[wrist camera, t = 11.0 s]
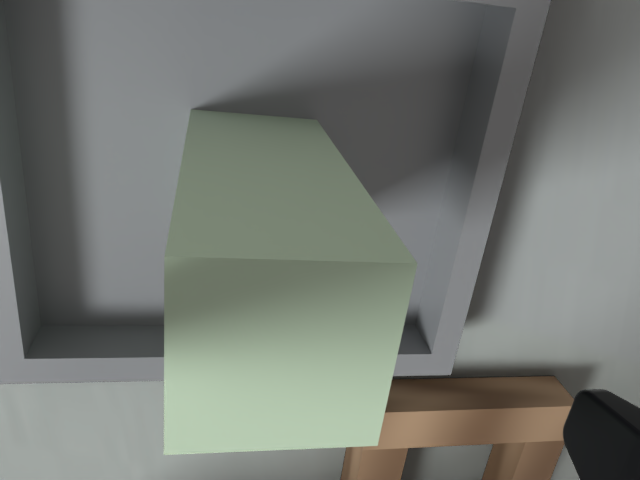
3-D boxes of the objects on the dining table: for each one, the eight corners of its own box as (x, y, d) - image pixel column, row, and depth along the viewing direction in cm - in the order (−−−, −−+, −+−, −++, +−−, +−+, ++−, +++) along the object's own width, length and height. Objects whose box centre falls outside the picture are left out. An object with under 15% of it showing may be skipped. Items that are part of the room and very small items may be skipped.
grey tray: (18, 339, 20) (-6, 384, 18) (-43, -107, 14) (-90, -121, 12) (428, 336, 23) (450, 374, 21) (514, -27, 18) (558, -27, 15)
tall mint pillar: (188, 226, 19) (163, 455, 10) (190, 109, 17) (164, 256, 8) (303, 231, 19) (377, 445, 11) (316, 119, 18) (417, 263, 9)
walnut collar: (331, 530, 28) (339, 568, 26) (358, 380, 24) (370, 413, 22) (502, 516, 30) (521, 551, 28) (554, 376, 26) (579, 406, 24)
